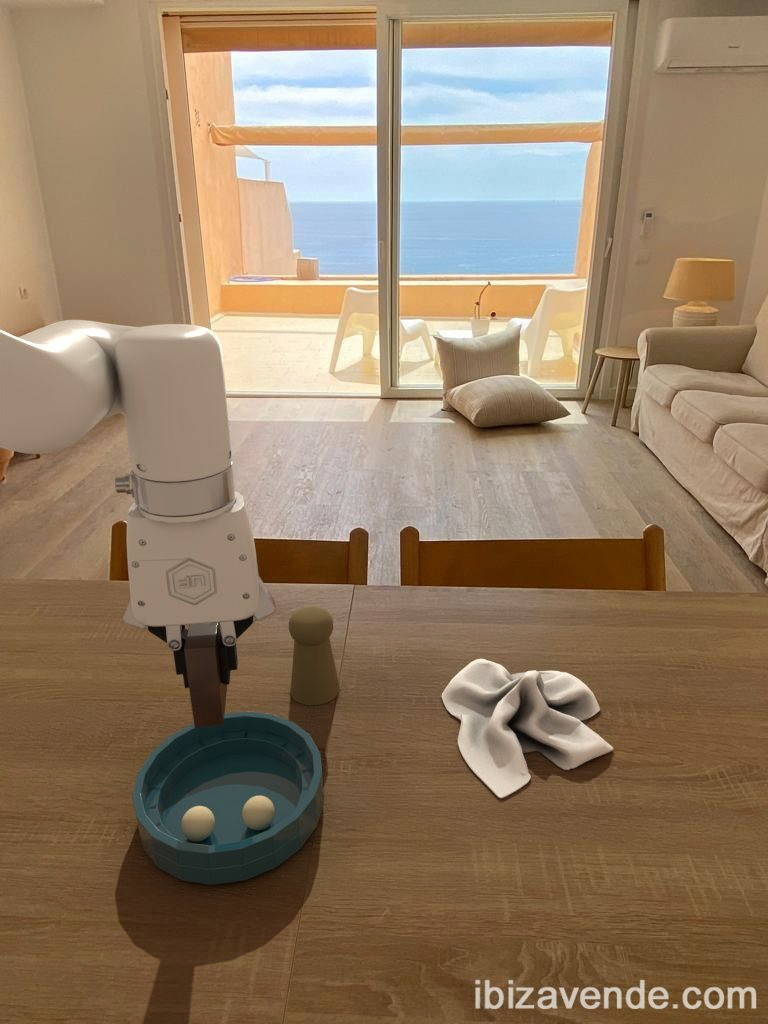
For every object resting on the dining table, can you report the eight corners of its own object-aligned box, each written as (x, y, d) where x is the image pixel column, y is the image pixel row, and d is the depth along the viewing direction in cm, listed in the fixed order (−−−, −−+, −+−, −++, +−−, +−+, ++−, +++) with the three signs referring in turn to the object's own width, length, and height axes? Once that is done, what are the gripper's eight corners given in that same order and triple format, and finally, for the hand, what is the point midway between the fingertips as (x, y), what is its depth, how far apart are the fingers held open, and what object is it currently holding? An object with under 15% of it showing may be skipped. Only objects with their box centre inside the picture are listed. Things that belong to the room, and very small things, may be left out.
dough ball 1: (189, 801, 63) (169, 829, 63) (213, 822, 62) (192, 851, 62) (202, 797, 66) (183, 824, 66) (225, 817, 65) (206, 845, 65)
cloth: (441, 661, 90) (442, 620, 87) (588, 666, 88) (593, 626, 86) (440, 795, 69) (442, 748, 67) (630, 806, 68) (639, 758, 65)
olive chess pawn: (281, 698, 83) (274, 621, 79) (303, 669, 88) (298, 595, 84) (327, 710, 81) (323, 631, 77) (347, 679, 86) (344, 603, 82)
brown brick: (194, 727, 61) (183, 649, 57) (202, 672, 68) (194, 599, 64) (223, 725, 61) (214, 647, 58) (229, 669, 68) (221, 597, 65)
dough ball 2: (271, 832, 66) (260, 839, 63) (244, 818, 67) (232, 824, 64) (283, 801, 66) (273, 806, 64) (256, 787, 67) (245, 792, 64)
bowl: (124, 902, 59) (115, 865, 57) (155, 754, 75) (148, 721, 73) (330, 873, 62) (328, 837, 60) (317, 735, 77) (315, 703, 76)
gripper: (65, 511, 50) (106, 713, 58) (289, 500, 53) (300, 695, 60) (90, 475, 57) (123, 659, 65) (287, 466, 59) (297, 645, 67)
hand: (208, 675), depth 62 cm, fingers closed on brown brick, 2 cm apart
